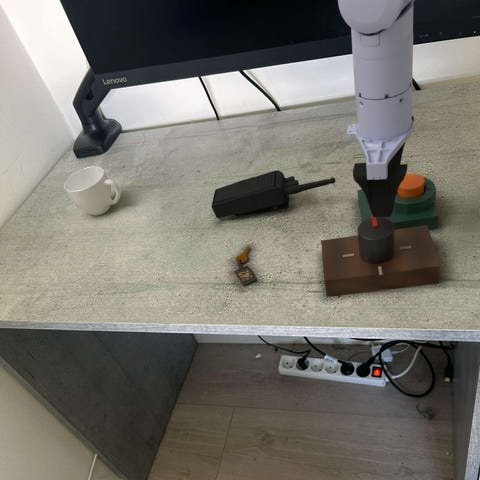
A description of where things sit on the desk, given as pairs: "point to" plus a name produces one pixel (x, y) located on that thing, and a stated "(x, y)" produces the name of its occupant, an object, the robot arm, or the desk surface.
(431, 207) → the button block
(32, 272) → the desk surface
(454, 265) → the desk surface
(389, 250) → the knob
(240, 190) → the walkie-talkie
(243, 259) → the key tag
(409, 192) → the button
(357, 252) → the lock panel
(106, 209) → the cup
